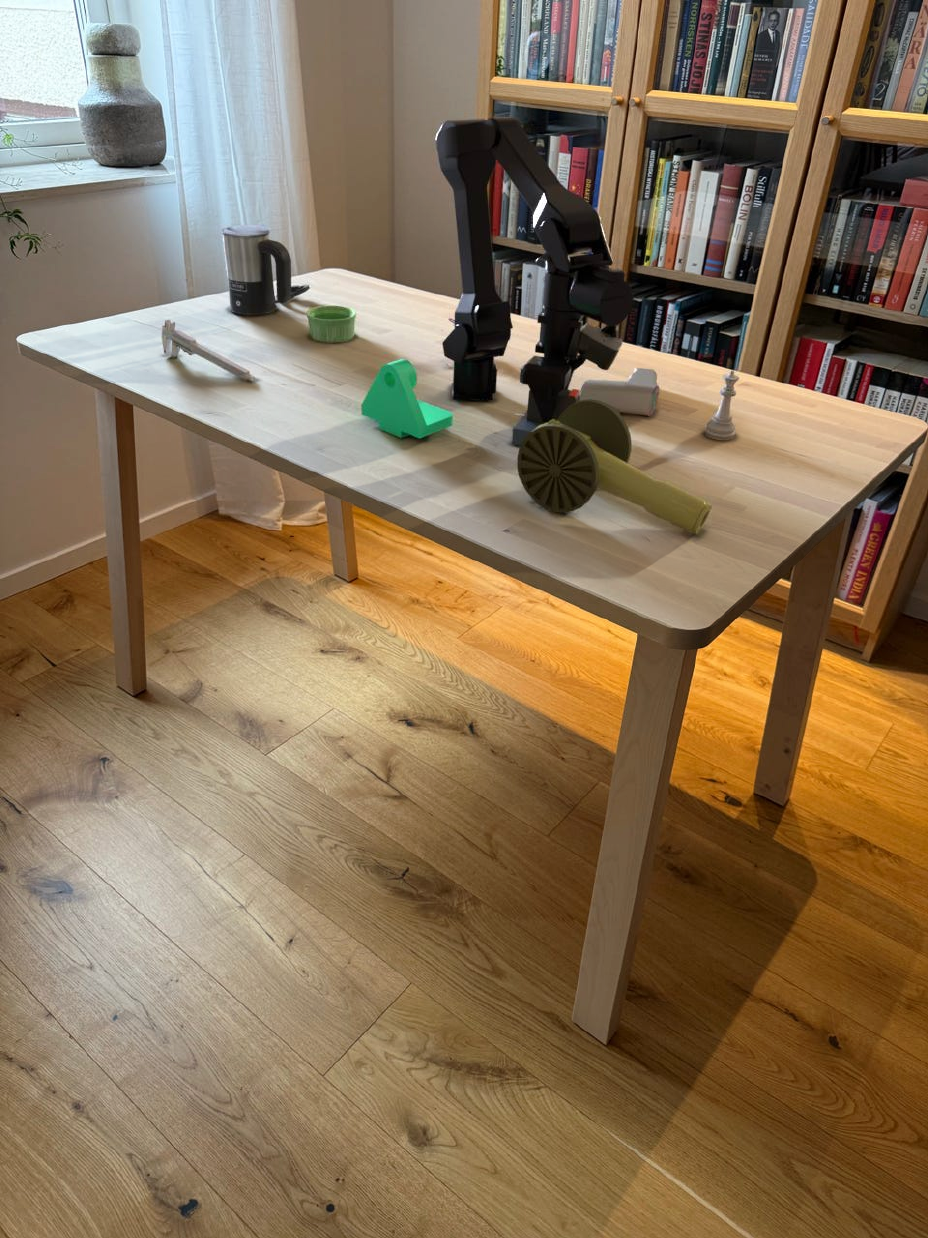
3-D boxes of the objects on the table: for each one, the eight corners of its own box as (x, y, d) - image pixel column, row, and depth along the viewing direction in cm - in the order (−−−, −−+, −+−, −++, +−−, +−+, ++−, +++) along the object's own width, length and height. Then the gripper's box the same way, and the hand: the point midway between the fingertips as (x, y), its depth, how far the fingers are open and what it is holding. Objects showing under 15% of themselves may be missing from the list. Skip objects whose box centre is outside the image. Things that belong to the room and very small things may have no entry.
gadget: (526, 420, 138) (528, 389, 135) (531, 413, 140) (534, 382, 137) (573, 428, 136) (576, 396, 133) (577, 420, 138) (581, 389, 136)
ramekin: (330, 325, 179) (329, 302, 177) (366, 335, 175) (366, 311, 172) (297, 336, 173) (296, 312, 170) (334, 347, 169) (333, 322, 166)
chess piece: (698, 431, 144) (710, 366, 138) (722, 427, 145) (735, 364, 139) (715, 442, 140) (729, 377, 135) (739, 438, 142) (754, 373, 136)
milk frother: (221, 313, 182) (212, 232, 174) (249, 291, 195) (243, 215, 187) (292, 320, 181) (287, 238, 173) (316, 297, 194) (312, 221, 185)
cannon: (719, 516, 121) (737, 433, 114) (686, 554, 112) (703, 467, 106) (545, 466, 131) (553, 387, 124) (503, 498, 122) (509, 415, 116)
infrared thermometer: (657, 391, 159) (655, 419, 146) (585, 383, 161) (577, 410, 148) (661, 364, 157) (659, 390, 144) (588, 357, 159) (580, 381, 146)
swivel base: (503, 444, 136) (504, 427, 135) (524, 417, 145) (525, 400, 144) (592, 460, 133) (594, 442, 132) (607, 431, 142) (610, 414, 141)
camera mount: (455, 430, 140) (457, 363, 134) (419, 445, 135) (420, 375, 129) (397, 408, 146) (397, 342, 140) (361, 421, 141) (360, 354, 136)
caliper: (163, 355, 162) (158, 318, 158) (168, 353, 163) (163, 317, 159) (251, 382, 153) (248, 344, 149) (256, 380, 154) (252, 342, 150)
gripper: (607, 333, 119) (593, 447, 128) (633, 296, 134) (619, 401, 143) (523, 321, 122) (514, 434, 131) (557, 286, 137) (548, 389, 146)
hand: (552, 414), depth 138 cm, fingers open, 7 cm apart
